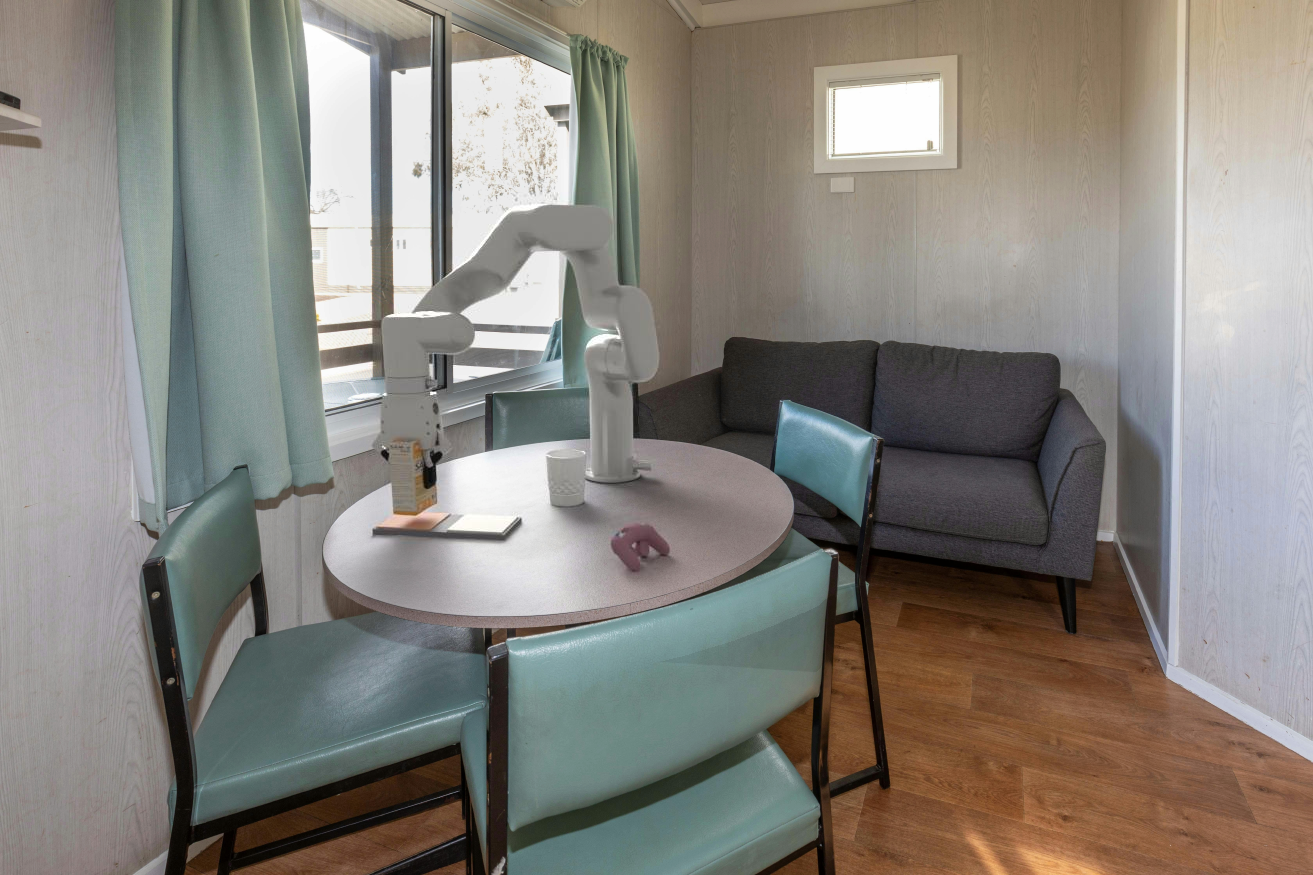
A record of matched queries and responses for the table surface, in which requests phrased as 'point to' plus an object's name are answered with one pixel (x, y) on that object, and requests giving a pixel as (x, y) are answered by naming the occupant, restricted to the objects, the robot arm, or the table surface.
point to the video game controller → (637, 544)
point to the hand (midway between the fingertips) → (414, 485)
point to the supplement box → (409, 479)
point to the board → (450, 526)
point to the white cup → (566, 476)
